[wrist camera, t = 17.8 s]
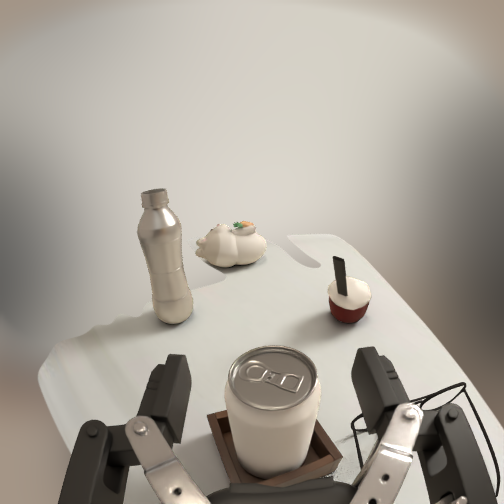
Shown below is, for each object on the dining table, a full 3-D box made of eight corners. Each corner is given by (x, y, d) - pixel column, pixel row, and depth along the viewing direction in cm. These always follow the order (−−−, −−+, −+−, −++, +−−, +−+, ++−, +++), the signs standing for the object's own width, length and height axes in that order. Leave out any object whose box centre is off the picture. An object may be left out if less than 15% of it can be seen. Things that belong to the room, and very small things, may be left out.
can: (255, 418, 25) (249, 332, 20) (315, 436, 22) (335, 353, 18) (224, 465, 20) (201, 392, 15) (291, 489, 17) (305, 429, 12)
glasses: (452, 401, 23) (472, 377, 20) (487, 500, 10) (517, 485, 7) (342, 433, 23) (354, 411, 20) (364, 558, 10) (384, 560, 7)
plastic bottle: (153, 330, 40) (123, 200, 32) (160, 305, 46) (137, 189, 38) (194, 327, 41) (173, 193, 33) (196, 303, 47) (180, 184, 39)
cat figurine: (267, 215, 60) (195, 216, 55) (277, 245, 55) (199, 248, 51) (257, 243, 67) (193, 246, 62) (265, 272, 62) (196, 276, 58)
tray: (241, 506, 16) (237, 497, 15) (212, 432, 24) (206, 414, 23) (335, 470, 19) (343, 456, 17) (293, 407, 27) (295, 388, 25)
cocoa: (354, 299, 45) (362, 232, 41) (379, 317, 40) (392, 246, 35) (307, 316, 42) (312, 243, 37) (331, 339, 37) (341, 261, 32)
